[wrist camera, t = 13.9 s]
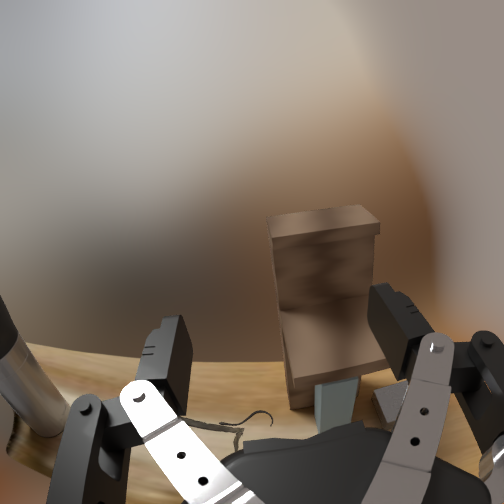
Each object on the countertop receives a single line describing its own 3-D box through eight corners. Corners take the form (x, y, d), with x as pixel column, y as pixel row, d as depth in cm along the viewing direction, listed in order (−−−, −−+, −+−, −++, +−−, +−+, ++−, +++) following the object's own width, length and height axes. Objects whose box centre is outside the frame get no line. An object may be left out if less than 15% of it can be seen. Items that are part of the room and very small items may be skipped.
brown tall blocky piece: (299, 464, 31) (285, 289, 19) (286, 389, 43) (265, 217, 31) (375, 446, 31) (424, 263, 19) (350, 376, 43) (359, 204, 31)
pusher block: (319, 438, 34) (321, 386, 29) (314, 415, 38) (314, 359, 33) (348, 432, 34) (358, 378, 29) (342, 409, 38) (348, 353, 33)
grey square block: (383, 431, 33) (387, 422, 32) (371, 400, 39) (373, 390, 37) (421, 418, 33) (426, 409, 32) (407, 389, 38) (410, 379, 37)
